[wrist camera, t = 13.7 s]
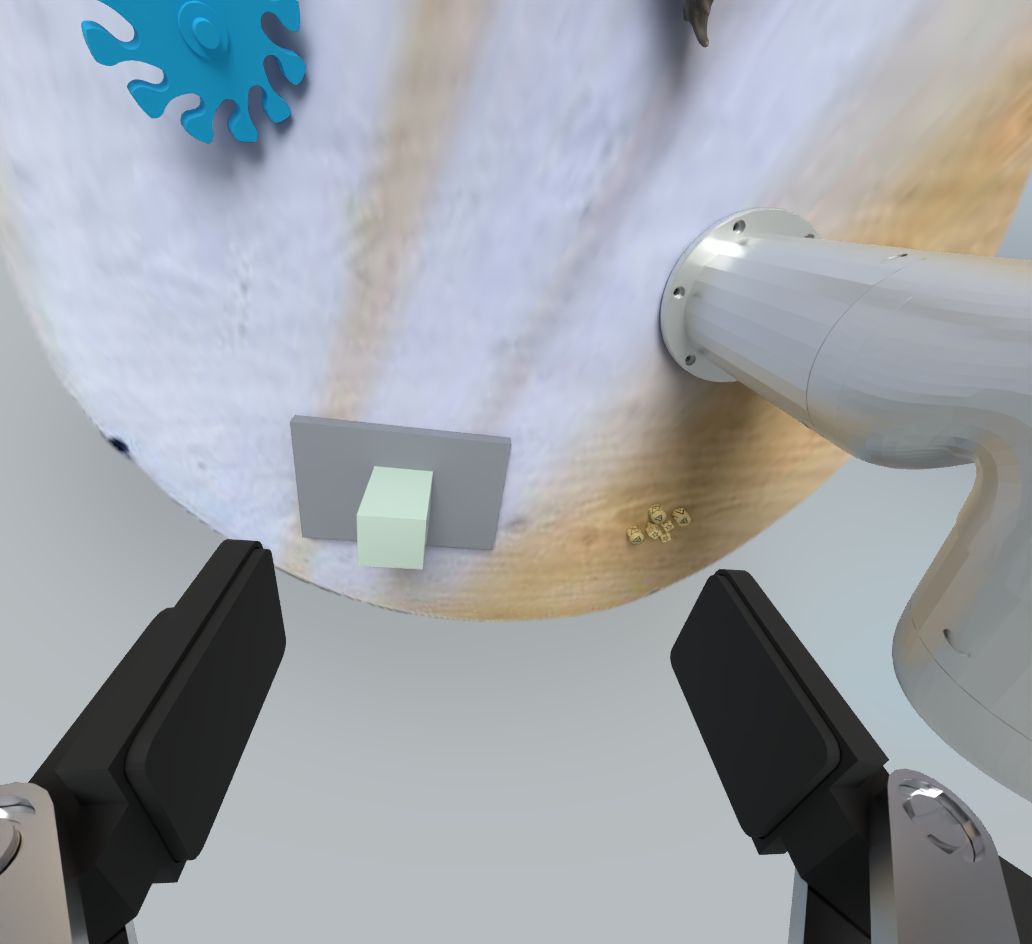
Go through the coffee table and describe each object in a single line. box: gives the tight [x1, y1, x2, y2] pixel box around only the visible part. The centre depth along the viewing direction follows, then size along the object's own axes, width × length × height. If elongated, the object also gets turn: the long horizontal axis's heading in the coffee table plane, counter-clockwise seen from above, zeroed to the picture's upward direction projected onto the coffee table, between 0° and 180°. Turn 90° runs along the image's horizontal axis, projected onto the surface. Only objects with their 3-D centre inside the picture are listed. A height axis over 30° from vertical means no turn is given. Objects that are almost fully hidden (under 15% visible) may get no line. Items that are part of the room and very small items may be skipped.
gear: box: [81, 0, 306, 144], centre depth 22 cm, size 11×6×10 cm
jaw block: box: [357, 466, 433, 569], centre depth 37 cm, size 5×5×7 cm
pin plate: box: [290, 415, 511, 550], centre depth 39 cm, size 18×12×4 cm, turn 81°
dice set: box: [627, 504, 692, 545], centre depth 46 cm, size 5×5×2 cm
